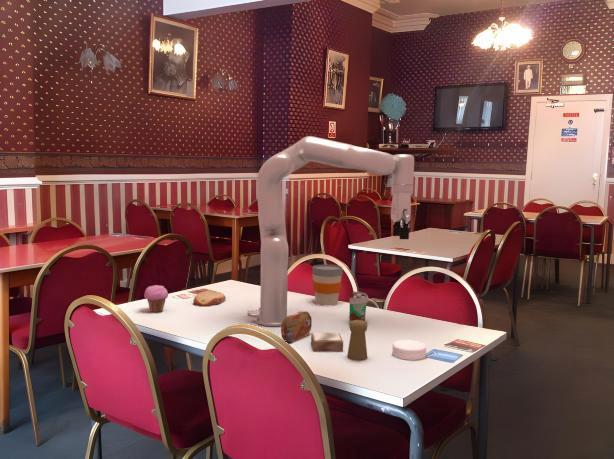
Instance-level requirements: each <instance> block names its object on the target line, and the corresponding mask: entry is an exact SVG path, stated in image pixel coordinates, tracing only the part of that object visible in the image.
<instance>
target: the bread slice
mask: <svg viewBox="0 0 614 459" xmlns="http://www.w3.org/2000/svg"><path fill="white" fill-rule="evenodd" d="M225 302H226V295H225V294H224V293H223V292H220V291H215V290H210V289H209V290H204V291H201V292H199V293H197V294H196V295H195V296H194V299H193V303H194V304H195V305H196V306H197V307H201V308H203V307H212V306H218V305H222V304H223V303H225Z"/></svg>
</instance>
